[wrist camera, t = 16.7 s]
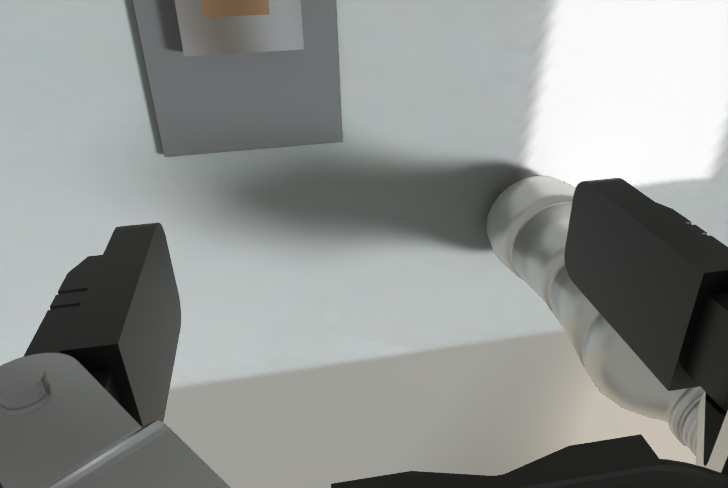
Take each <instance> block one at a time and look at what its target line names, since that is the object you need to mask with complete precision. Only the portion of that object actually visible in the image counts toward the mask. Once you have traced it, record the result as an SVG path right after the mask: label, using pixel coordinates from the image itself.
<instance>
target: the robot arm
mask: <svg viewBox="0 0 728 488" xmlns="http://www.w3.org/2000/svg"><path fill="white" fill-rule="evenodd" d="M564 259H565V266H566V270H567V273H568V276H569V278H570V279H571V281H572V282H573V283H574V284H575V286H576V287H577V288H578V289H579V290H580V291H581V292H582V294H583V295H584V296H585V297H586V298H587V299H588V300H589V301H590V303H591V304H592V305H593V306H594V307H595V308H596V309H597V311H598V312H599V313H600V314H601V315H602V316H603V317H604V319H605V320H606V321H607V322H608V323H609V324H610V325H611V327H612V328H613V329H614V330H615V331H616V332H617V333H618V334H619V336H620V337H621V338H622V339H623V340H624V341H625V342H626V344H627V345H628V346H629V347H630V348H631V349H632V350H633V352H634V353H635V354H636V355H637V356H638V357H639V358H640V360H641V361H642V362H643V363H644V364H645V365H646V366H647V367H648V369H649V370H650V371H651V372H652V373H653V374H654V375H655V377H656V378H657V379H658V380H659V381H660V382H661V383H662V385H663V386H664V387H665V388H666V389H667V390H668V391H673V390H680V389H686V388H693V387H701V388H702V389H703V390H704V392H703V395H702V398H701V400H700V403H699V408H698V427H697V449H696V465H693V464H689V463H685V462H679V461H672V460H665V459H659V458H658V457H657V455H656V454H655V452H654V451H653V450H652V449H651V447H650V446H649V445H648V443H647V442H646V441H645V439H644V438H643V436H642V435H635V436H628V437H622V438H616V439H610V440H603V441H597V442H591V443H584V444H579V445H572V446H568V447H565V448H563V449H561V450H559V451H556V452H554V453H552V454H549V455H547V456H545V457H543V458H541V459H538V460H536V461H534V462H531V463H529V464H527V465H524V466H523V467H520V468H518V469H515V470H513V471H511V472H509V473H506V474H503V475H498V476H483V475H482V476H481V475H467V474H450V473H433V472H417V471H409V472H403V473H396V474H390V475H384V476H378V477H372V478H366V479H359V480H353V481H346V482H341V483H334V484H331V488H728V247H727V246H725V245H724V244H722V243H721V242H720V241H718V240H717V239H715V238H714V237H712V236H707V232H705V231H704V230H702V229H701V228H699V227H698V226H696V225H692V224H691V221H689V220H688V219H686V218H685V217H683V216H682V215H680V214H679V213H678V212H676V211H675V210H673V209H671V208H669V207H666V206H663V205H661V204H658V203H656V202H654V201H653V200H651V199H650V198H648V197H647V196H646V195H644V194H643V193H641V192H640V191H638V190H637V189H636V188H634V187H633V186H631V185H630V184H628V183H627V182H626V181H624V180H623V179H620V178H614V179H603V180H593V181H583V182H580V183H579V184H578V185H577V187H576V189H575V191H574V195H573V201H572V207H571V214H570V220H569V226H568V233H567V239H566V245H565V253H564ZM180 327H181V308H180V300H179V294H178V290H177V285H176V281H175V276H174V272H173V267H172V263H171V259H170V254H169V250H168V245H167V241H166V237H165V233H164V230H163V227H162V225H161V224H160V223H151V224H141V225H131V226H121V227H116V228H115V230H114V232H113V234H112V237H111V239H110V241H109V243H108V245H107V248H106V250H105V252H104V254H103V255H98V256H89V257H87V258H86V259H85V260H83V261H82V262H81V263H80V264H79V265H77V266H76V267H75V268H74V269H72V270H71V271H70V272H69V273H68V274H67V276H66V277H65V279H64V281H63V283H62V285H61V287H60V289H59V291H58V295H56V296H55V298H54V300H53V302H52V304H51V306H50V310H48V311H47V313H46V315H45V317H44V319H43V321H42V323H41V325H40V326H39V328H38V330H37V332H36V334H35V336H34V338H33V340H32V342H31V343H30V345H29V347H28V349H27V351H26V353H25V355H24V357H22V358H18V359H15V360H13V361H10V362H8V363H6V364H3V365H1V366H0V488H230V487H229V486H228V485H227V484H226V483H225V482H224V481H223V480H222V479H221V478H220V477H219V476H218V475H217V474H216V473H215V472H214V471H213V470H212V469H211V468H210V467H209V466H208V465H207V464H206V463H205V462H204V461H203V460H202V459H201V458H200V457H199V456H198V455H197V454H196V453H195V452H194V451H193V450H192V449H191V448H190V447H189V446H188V445H186V444H185V443H184V442H183V441H182V440H181V439H180V438H179V437H178V436H177V435H176V434H175V433H174V432H173V431H172V430H171V429H170V428H169V427H168V426H167V425H166V424H164V423H163V420H164V415H165V409H166V404H167V398H168V393H169V388H170V382H171V377H172V371H173V366H174V360H175V355H176V349H177V344H178V338H179V333H180Z"/></svg>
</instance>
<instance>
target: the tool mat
mask: <svg viewBox="0 0 728 488" xmlns="http://www.w3.org/2000/svg"><path fill="white" fill-rule="evenodd" d="M133 5H134V10H135V15H136V20H137V25H138V30H139V35H140V40H141V45H142V49H143V54H144V59H145V64H146V69H147V74H148V79H149V84H150V89H151V94H152V99H153V104H154V108H155V113H156V118H157V123H158V128H159V133H160V138H161V143H162V148H163V153H164V157H170V156H181V155H193V154H205V153H217V152H228V151H240V150H252V149H264V148H275V147H287V146H299V145H310V144H322V143H334V142H343V140H342V118H341V96H340V74H339V51H338V29H337V7H336V0H301V14H302V28H303V42H304V49H302V50H285V51H268V52H251V53H234V54H218V55H201V56H184V53H183V47H182V41H181V35H180V29H179V24H178V18H177V12H176V6H175V0H133Z"/></svg>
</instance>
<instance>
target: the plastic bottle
mask: <svg viewBox="0 0 728 488" xmlns="http://www.w3.org/2000/svg"><path fill="white" fill-rule="evenodd" d="M575 189H576V188H575V187H573V186H572V185H570V184H568V183H566V182H563V181H561V180H559V179H556V178H553V177H548V176H533V177H529V178H525V179H522V180H520V181H518V182H516V183H514V184H512V185H511V186H509V187H508V188H506V189H505V190H504V191H503V192H502V193H501V194H500V195H499V196H498V198H497V199H496V200H495V202H494V203H493V205H492V207H491V209H490V211H489V214H488V218H487V227H486V228H487V235H488V238H489V240H490V243H491V246H492V248H493V250H494V253H495V255H496V256H497V258H498V259H499V260H500V262H502V263H503V264H504V265H505V266H506V267H507V268H508V269H509V270H511V271H512V272H513V273H514V274H515V275H517V276H518V277H520V278H521V279H523V280H524V281H525V282H526V283H527V284H528V285H529V286H530V287H531V288H532V289H533V290H534V291H535V292H536V293H537V294H538V295H539V296H540V297H541V298H542V299H543V300H544V301H545V302H546V303H547V305H548V306H549V308H550V309H551V311H552V312H553V314H554V315H555V317H556V318H557V319H558V321H559V322H560V324H561V325H562V327H563V328H564V330H565V331H566V333H567V335H568V337H569V339H570V341H571V343H572V345H573V346H574V348H575V350H576V352H577V354H578V356H579V358H580V360H581V362H582V364H583V366H584V367H585V369H586V371H587V373H588V375H589V376H590V378H591V379H592V381H593V383H594V384H595V385H596V387H597V388H598V390H599V391H600V392H601V393H602V394H604V395H605V396H606V397H608V398H609V399H610V400H612V401H613V402H615V403H616V404H618V405H619V406H621V407H622V408H624V409H627V410H629V411H632V412H634V413H637V414H641V415H643V416H647V417H649V418H654V419H658V420H663V421H667V422H669V427H670V430H671V431H672V433H673V434H674V435H675V437H676V438H677V439H678V440H679V441H680V442H681V443H682V444H683V445H685V446H687V447H688V448H689V449H690V450H691V451H692V452H693V453H694V455H695V456H696V449H697V427H698V408H699V403H700V400H701V398H702V395H703V392H704V390H703V389H702V388H701V387H693V388H686V389H680V390H673V391H668V390H667V389H666V388H665V387H664V386H663V385H662V383H661V382H660V381H659V380H658V379H657V378H656V377H655V375H654V374H653V373H652V372H651V371H650V370H649V369H648V367H647V366H646V365H645V364H644V363H643V362H642V361H641V360H640V358H639V357H638V356H637V355H636V354H635V353H634V352H633V350H632V349H631V348H630V347H629V346H628V345H627V344H626V342H625V341H624V340H623V339H622V338H621V337H620V336H619V334H618V333H617V332H616V331H615V330H614V329H613V328H612V327H611V325H610V324H609V323H608V322H607V321H606V320H605V319H604V317H603V316H602V315H601V314H600V313H599V312H598V311H597V309H596V308H595V307H594V306H593V305H592V304H591V303H590V301H589V300H588V299H587V298H586V297H585V296H584V295H583V294H582V292H581V291H580V290H579V289H578V288H577V287H576V286H575V284H574V283H573V282H572V281H571V279H570V278H569V276H568V273H567V270H566V266H565V259H564V253H565V245H566V239H567V233H568V226H569V220H570V214H571V207H572V201H573V195H574V191H575Z"/></svg>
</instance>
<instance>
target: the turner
mask: <svg viewBox="0 0 728 488" xmlns="http://www.w3.org/2000/svg"><path fill="white" fill-rule="evenodd" d="M175 6H176V12H177V18H178V24H179V29H180V35H181V41H182V47H183V53H184V56H201V55H218V54H234V53H251V52H268V51H285V50H302V49H304V42H303V28H302V14H301V0H175Z"/></svg>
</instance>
